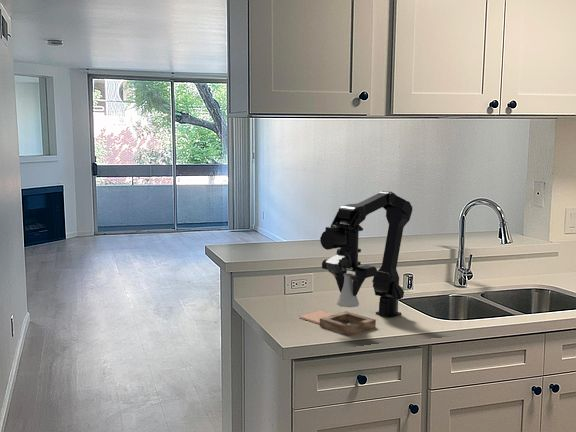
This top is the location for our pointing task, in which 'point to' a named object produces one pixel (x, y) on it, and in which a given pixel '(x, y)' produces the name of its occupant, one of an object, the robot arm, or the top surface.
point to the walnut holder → (335, 324)
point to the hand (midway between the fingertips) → (348, 294)
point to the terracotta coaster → (315, 316)
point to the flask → (347, 293)
